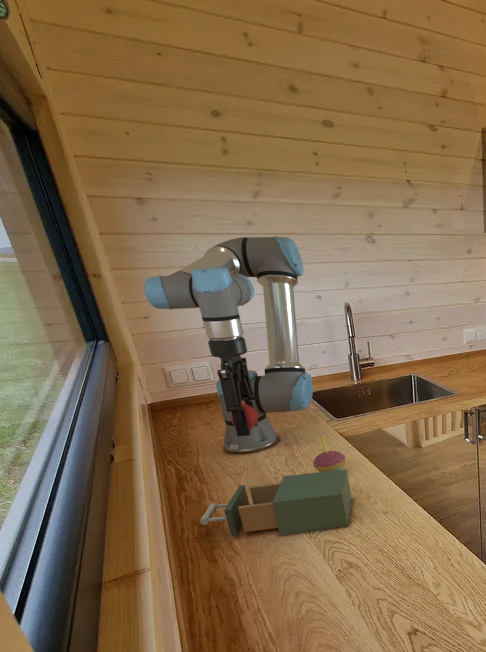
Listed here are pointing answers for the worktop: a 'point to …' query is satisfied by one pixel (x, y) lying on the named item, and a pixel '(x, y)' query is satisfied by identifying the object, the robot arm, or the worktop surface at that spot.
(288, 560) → the worktop surface
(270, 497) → the drawer
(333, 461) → the cupcake
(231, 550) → the worktop surface
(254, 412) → the onion
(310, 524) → the cabinet
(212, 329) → the robot arm
